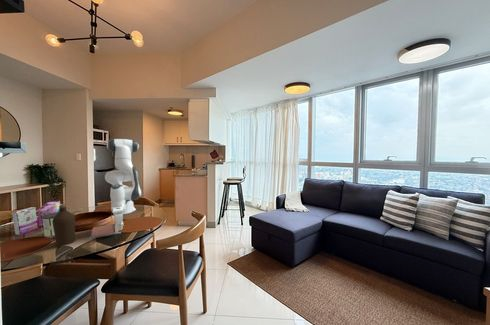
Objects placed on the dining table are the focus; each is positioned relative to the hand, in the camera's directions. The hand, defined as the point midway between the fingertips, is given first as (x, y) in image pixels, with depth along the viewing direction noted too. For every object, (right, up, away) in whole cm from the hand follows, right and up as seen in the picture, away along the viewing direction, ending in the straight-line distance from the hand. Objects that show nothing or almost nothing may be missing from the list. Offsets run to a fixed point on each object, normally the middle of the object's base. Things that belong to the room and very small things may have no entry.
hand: (119, 226), depth 148 cm
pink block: (-9, -4, -4) cm, 10 cm away
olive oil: (-24, -6, -17) cm, 30 cm away
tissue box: (-43, -4, -5) cm, 43 cm away
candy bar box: (-65, -4, -2) cm, 65 cm away
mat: (-3, -4, -1) cm, 5 cm away
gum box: (-67, -2, +18) cm, 70 cm away
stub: (-1, -3, +1) cm, 3 cm away
